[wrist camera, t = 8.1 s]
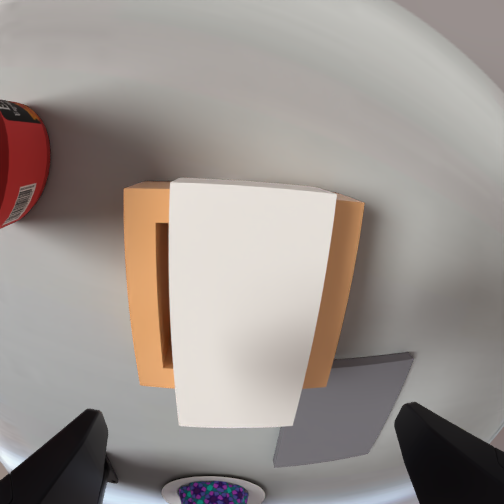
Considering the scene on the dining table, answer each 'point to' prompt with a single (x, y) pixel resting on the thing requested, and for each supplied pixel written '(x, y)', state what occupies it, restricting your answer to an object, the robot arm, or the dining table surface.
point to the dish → (157, 283)
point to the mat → (343, 411)
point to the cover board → (244, 297)
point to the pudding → (212, 491)
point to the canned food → (21, 160)
